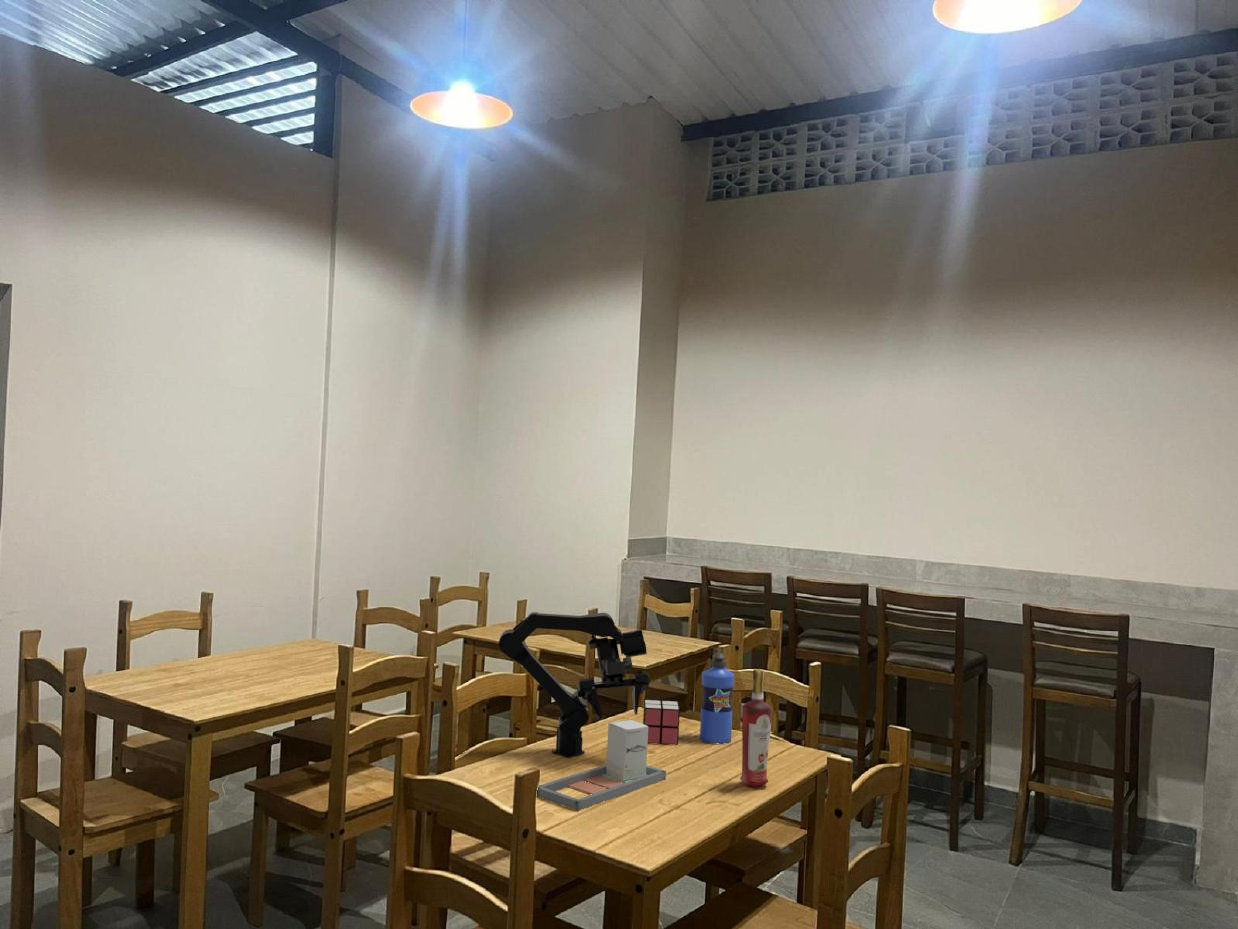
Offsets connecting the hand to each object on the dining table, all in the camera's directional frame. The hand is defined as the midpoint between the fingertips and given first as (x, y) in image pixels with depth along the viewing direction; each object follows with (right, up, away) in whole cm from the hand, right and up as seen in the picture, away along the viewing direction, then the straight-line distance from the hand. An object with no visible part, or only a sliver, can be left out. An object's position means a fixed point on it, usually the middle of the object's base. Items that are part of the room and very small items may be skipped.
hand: (618, 716), depth 230 cm
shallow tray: (-4, -12, -17) cm, 21 cm away
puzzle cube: (+12, -14, +27) cm, 33 cm away
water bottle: (+28, -15, +29) cm, 43 cm away
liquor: (+33, -14, -10) cm, 37 cm away
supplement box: (+2, -12, -9) cm, 15 cm away
